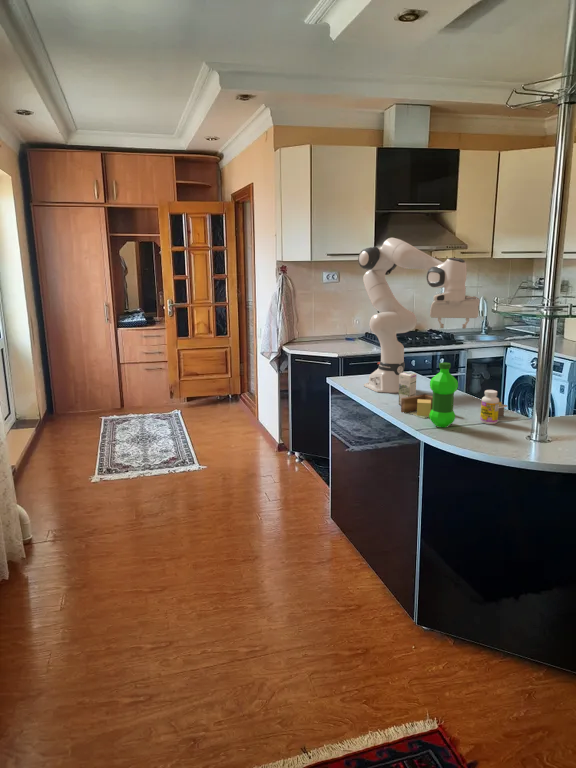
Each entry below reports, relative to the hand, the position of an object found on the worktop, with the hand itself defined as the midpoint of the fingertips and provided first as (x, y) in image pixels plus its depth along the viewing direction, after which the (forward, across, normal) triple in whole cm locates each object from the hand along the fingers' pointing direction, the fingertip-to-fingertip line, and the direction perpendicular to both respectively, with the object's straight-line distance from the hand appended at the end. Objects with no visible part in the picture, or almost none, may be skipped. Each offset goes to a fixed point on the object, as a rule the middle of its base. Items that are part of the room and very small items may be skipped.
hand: (452, 328), depth 245 cm
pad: (+34, +11, +20) cm, 41 cm away
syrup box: (+34, +18, +6) cm, 39 cm away
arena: (+34, +10, +18) cm, 40 cm away
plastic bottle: (+34, +4, +34) cm, 48 cm away
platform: (+35, -18, +17) cm, 43 cm away
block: (+34, +11, +20) cm, 41 cm away
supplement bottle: (+34, -14, +26) cm, 45 cm away
